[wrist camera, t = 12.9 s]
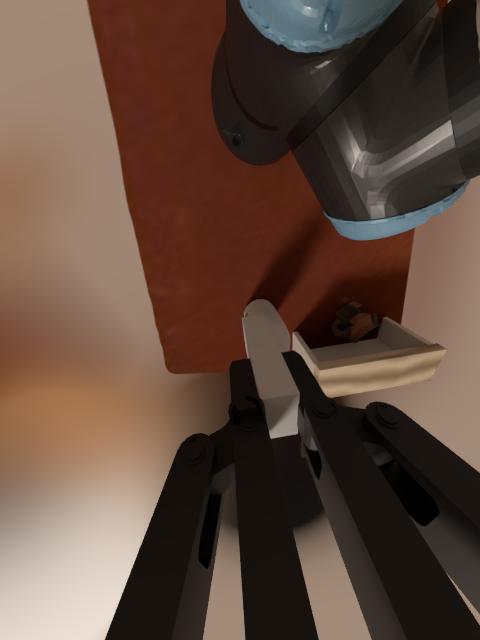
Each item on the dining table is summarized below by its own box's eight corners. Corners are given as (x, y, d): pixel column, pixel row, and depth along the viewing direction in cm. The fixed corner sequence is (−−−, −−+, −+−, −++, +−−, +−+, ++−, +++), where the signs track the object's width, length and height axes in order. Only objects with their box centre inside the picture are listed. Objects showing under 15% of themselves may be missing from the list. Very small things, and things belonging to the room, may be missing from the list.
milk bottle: (248, 295, 43) (268, 346, 26) (278, 301, 45) (316, 353, 27) (240, 323, 47) (252, 384, 29) (268, 328, 48) (296, 389, 31)
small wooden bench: (293, 330, 49) (319, 370, 36) (387, 315, 50) (447, 349, 37) (292, 356, 54) (316, 400, 41) (379, 341, 55) (430, 380, 42)
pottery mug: (364, 293, 47) (392, 316, 42) (349, 315, 55) (371, 336, 50) (326, 311, 45) (351, 338, 40) (315, 331, 52) (336, 355, 48)
